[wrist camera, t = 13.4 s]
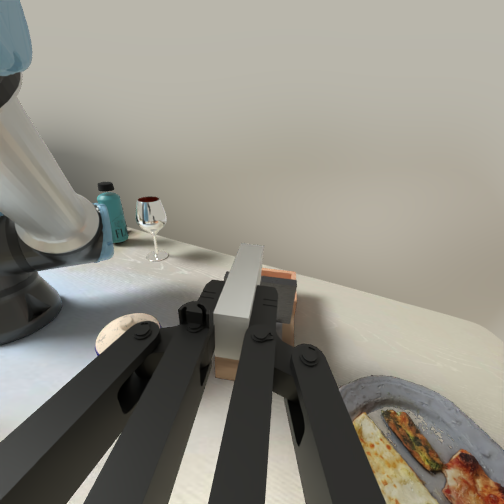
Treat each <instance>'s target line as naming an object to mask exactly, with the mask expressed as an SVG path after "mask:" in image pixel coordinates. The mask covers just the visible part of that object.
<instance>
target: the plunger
mask: <svg viewBox="0 0 504 504" xmlns="http://www.w3.org/2000/svg"><path fill="white" fill-rule="evenodd" d="M228 275H229V272H226V274H225V277H224V281H226V280H227V277H228ZM260 285H262V286H269V287H275V288H276V290H277V292H278V305H277V319H276V322H278V323H285V324H290V322H291V316H292V310H293V305H294V299H295V293H296V288H297V281H296V280H293V279H285V278H276V277H268V276H261V281H260Z"/></svg>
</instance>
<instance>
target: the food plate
mask: <svg viewBox="0 0 504 504" xmlns="http://www.w3.org/2000/svg"><path fill="white" fill-rule="evenodd" d="M339 391H340V394H341V396H342V398H343V401H344V403H345V406H346V408H347V410H348V413H349V415H350V418H351V420H352V422H353V425H354V427H355V430H356V432H357V434H358V437H359V439H360V442H361V444H362V446H363V449H364V451H365V454H366V456H367V458H368V461H369V463H370V465H371V468H372V470H373V473H374V475H375V477H376V480H377V482H378V485H379V487H380V489H381V492H382V494H383V497H384V499H385V501H386V504H504V450H503V449H502V448H501V447H500V446H499V445H498V444H497V443H496V442H494V441H493V439H491V438H490V437H489V435H487V434H486V433H485V432H484V431H483V430H482V429H480V428H479V426H478V425H476V424H475V422H474V421H472V420H471V418H469V417H468V416H467V415H466V414H465V413H464V412H461V411H462V410H461V411H460V410H459V408H458V407H456V405H455V404H454V403H453V402H451V401H449V400H448V399H446V398H445V397H444V396H442V395H440V394H439V393H437V392H435V391H433V390H431V389H428V388H426V387H424V386H422V385H418V384H415V383H412V382H409V381H406V380H403V379H399V378H396V377H395V378H394V377H392V376H373V375H371V376H370V377H369V376H368V377H364V378H360V379H358V380H356V381H353V382H350V383H348V384H345V385H343V386H341V387H340V388H339ZM385 406H387V407H395V408H400V409H404V410H410V411H412V412H413V413H415V414H414V415H415V416H416V417H417V419H420V418H418V415H420V416H422V417H423V420H424V421H425V422H426V423H427V425H428V426H426V425H425V424H424V422H423V421H422V423H419V427H417V425H415V424H414V423H413V421H412V420H411V419H410V417H409V416H408V414H409V413H410V412H408V414H407V413H405V412H395V411H393V409H392V410H389V411H388V409H387V410H386V411H383V410H381V413H382V415H381V417H382V418H383V421H384V422H385V423H386V426H387V427H388V429H389V430H390V431H391V433H392V434H391V436H390V435H389V433H387V435H388V437H387V438H390V439H391V440H392V442H393V443H394V444H396V447H395V446H394V445H393V444H392V443H391V442H389V439H387V438H386V437H385V436H384V435H385V434H383V432H382V431H380V430H379V429H378V427H377V426H376V425H375V424H374V422H373V421H372V420H371V419H370V418H369V417H368V416H367V414H368V413H370V412H373V411H375V410H378V409H381V408H383V407H385ZM415 419H416V418H415ZM422 424H424V425H423V427H424V429H425V431H424V432H423V431H422V429H421V428H422ZM434 424H435V425H434ZM432 426H433V427H434V428H435V430H436V432H435V433H437V432H440V433H441V436H442V438H441V439H442V440H443V443H441V442H440V441H439V440H438V438H439V439H440V437H438V435H435V433H434V431H435V430H434V431H433V430H431V428H432ZM420 427H421V428H420ZM426 427H427V428H428V429H426ZM418 429H420V431H419V430H418ZM440 430H441V431H443V432H444V433H443V432H441V431H440ZM427 433H428V434H427ZM447 434H448V435H450V436H451V437H450V436H448V435H447ZM451 438H452V439H453V440H454V441H453V440H452V439H451ZM449 445H450V446H451V447H452V448H450V447H449Z"/></svg>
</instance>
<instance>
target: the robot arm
mask: <svg viewBox="0 0 504 504" xmlns="http://www.w3.org/2000/svg"><path fill="white" fill-rule="evenodd" d="M31 60H32V45H31V39H30V34H29V30H28V26H27V22H26V19H25V16H24V12H23V9H22V6H21V4H20V0H0V344H4V343H8V342H11V341H14V340H17V339H20V338H22V337H25V336H27V335H29V334H31V333H33V332H35V331H37V330H39V329H40V328H42V327H43V326H45V325H46V324H48V323H49V322H50V321H51V320H53V319H54V318H55V317H56V316H57V314H58V313H59V312H60V310H61V308H62V301H61V298H60V296H59V294H58V292H57V291H56V290H55V289H54V288H53V287H52V286H51V285H49V284H48V283H47V282H46V281H45V280H44V279H43V278H42V277H41V276H39V274H38V272H37V271H41V270H48V269H54V268H60V267H67V266H73V265H80V264H86V263H92V262H94V263H97V262H100V261H103V260H107V259H110V258H111V257H112V256H113V255H114V247H113V241H112V232H111V225H110V219H109V214H108V209H107V206H106V205H104V204H97V203H93V204H92V203H91V202H90V201H89V200H87V199H86V198H85V197H83V196H81V195H79V194H76V193H75V192H74V190H73V189H72V187H71V185H70V184H69V182H68V180H67V179H66V177H65V175H64V174H63V172H62V171H61V169H60V167H59V166H58V164H57V162H56V161H55V159H54V157H53V156H52V154H51V152H50V151H49V149H48V148H47V146H46V144H45V143H44V141H43V140H42V138H41V136H40V134H39V133H38V131H37V129H36V128H35V126H34V125H33V123H32V122H31V120H30V118H29V116H28V115H27V113H26V111H25V110H24V108H23V107H22V105H21V103H20V102H19V100H18V98H17V95H18V93H19V91H20V88H21V85H22V71H24V70H26V69H27V68H28V67H29V65H30V64H31ZM263 250H264V246H262V245H254V244H245V243H241V245H240V247H239V250H238V252H237V255H236V257H235V260H234V262H233V265H232V267H231V270H230V272H229V275H228V277H227V280H226V281H219V280H211V281H210V282H209V283H207V284H206V286H205V288H204V290H203V292H202V293H201V295H200V297H199V299H198V301H192V302H189V303H186V304H184V305H182V306H181V307H180V308H179V309H178V312H179V320H180V325H177V326H174V327H167V328H159V326H158V324H157V323H155V322H153V321H142V322H139V323H136V324H135V325H133V326H132V327H130V328H129V329H128V330H127V331H126V332H124V333H123V334H122V335H121V336H120V337H119V338H118V339H117V340H115V341H114V342H113V343H112V344H111V345H110V346H109V347H108V348H106V349H105V350H104V351H103V352H102V353H101V354H100V355H99V356H97V357H96V358H95V359H94V360H93V361H92V362H91V363H89V364H88V365H87V366H86V367H85V368H84V369H83V370H82V371H80V372H79V373H78V374H77V375H76V376H75V377H74V378H73V379H71V380H70V381H69V382H68V383H67V384H66V385H65V386H63V387H62V388H61V389H60V390H59V391H58V392H57V393H56V394H54V395H53V396H52V397H51V398H50V399H49V400H48V401H47V402H45V403H44V404H43V405H42V406H41V407H40V408H39V409H37V410H36V411H35V412H34V413H33V414H32V415H31V416H30V417H28V418H27V419H26V420H25V421H24V422H23V423H22V424H21V425H19V426H18V427H17V428H16V429H15V430H14V431H13V432H12V433H10V434H9V435H8V436H7V437H6V438H5V439H4V440H2V441H1V442H0V504H67V502H68V501H69V500H70V498H71V497H72V496H73V494H74V493H75V492H76V491H77V489H78V488H79V487H80V485H81V484H82V483H83V482H84V480H85V479H86V478H87V476H88V475H89V474H90V472H91V471H92V470H93V469H94V467H95V466H96V465H97V463H98V462H99V461H100V459H101V458H102V457H103V456H104V454H105V453H106V452H107V450H108V449H109V448H110V447H111V445H112V444H113V443H114V441H115V440H116V439H117V437H118V436H119V435H120V434H121V435H120V436H119V438H118V440H117V442H116V444H115V446H114V448H113V449H112V451H111V453H110V455H109V457H108V459H107V461H106V462H105V464H104V466H103V468H102V470H101V472H100V474H99V475H98V477H97V479H96V481H95V483H94V485H93V487H92V489H91V490H90V492H89V494H88V496H87V498H86V500H85V502H84V503H83V504H168V502H169V499H170V496H171V493H172V490H173V486H174V483H175V480H176V477H177V474H178V471H179V467H180V464H181V461H182V458H183V455H184V452H185V448H186V445H187V442H188V439H189V436H190V433H191V429H192V426H193V423H194V420H195V417H196V414H197V411H198V407H199V404H200V401H201V398H202V395H203V392H204V388H205V385H206V382H207V379H208V376H209V373H210V369H211V364H212V360H211V358H212V355H213V352H214V356H216V357H222V358H228V359H234V360H239V363H238V368H237V372H236V377H235V381H234V386H233V391H232V395H231V400H230V405H229V409H228V414H227V419H226V423H225V428H224V432H223V437H222V442H221V446H220V451H219V456H218V460H217V465H216V470H215V474H214V479H213V483H212V488H211V493H210V497H209V502H208V504H265V493H266V478H267V464H268V449H269V434H270V419H271V404H272V391H273V392H275V393H277V394H279V395H280V396H282V397H284V402H285V406H286V411H287V416H288V421H289V426H290V430H291V435H292V440H293V445H294V449H295V454H296V459H297V464H298V469H299V473H300V478H301V483H302V488H303V493H304V497H305V502H306V504H386V501H385V499H384V497H383V494H382V492H381V489H380V487H379V485H378V482H377V480H376V477H375V475H374V473H373V470H372V468H371V465H370V463H369V461H368V458H367V456H366V454H365V451H364V449H363V446H362V444H361V442H360V439H359V437H358V434H357V432H356V430H355V427H354V425H353V422H352V420H351V418H350V415H349V413H348V410H347V408H346V406H345V403H344V401H343V398H342V396H341V394H340V391H339V389H338V386H337V384H336V382H335V379H334V377H333V374H332V372H331V370H330V367H329V365H328V362H327V360H326V358H325V356H324V354H323V353H322V351H320V350H319V349H318V348H317V347H315V346H313V345H310V344H301V345H298V346H296V347H293V346H291V345H289V344H287V343H285V342H284V341H282V340H281V339H280V338H279V336H278V335H277V332H276V319H277V305H278V292H277V290H276V288H275V287H269V286H262V285H260V281H261V272H262V260H263ZM121 432H122V433H121Z"/></svg>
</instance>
